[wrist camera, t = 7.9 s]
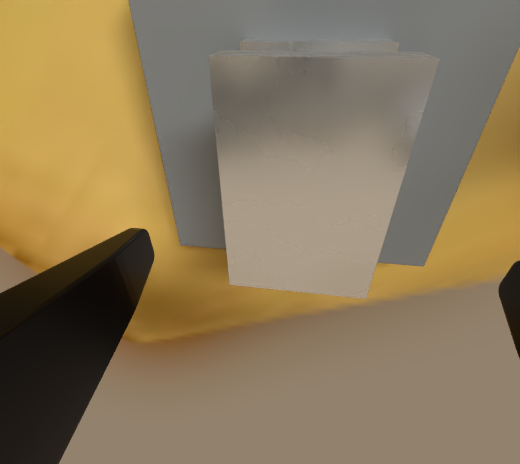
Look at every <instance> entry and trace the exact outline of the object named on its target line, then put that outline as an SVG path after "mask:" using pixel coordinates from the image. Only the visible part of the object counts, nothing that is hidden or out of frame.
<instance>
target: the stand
mask: <svg viewBox="0 0 520 464" xmlns="http://www.w3.org/2000/svg"><path fill="white" fill-rule="evenodd" d="M129 5H130V10H131V14H132V19H133V24H134V28H135V33H136V38H137V43H138V47H139V52H140V57H141V61H142V66H143V71H144V76H145V80H146V85H147V90H148V95H149V99H150V104H151V109H152V113H153V118H154V123H155V128H156V132H157V137H158V142H159V146H160V151H161V156H162V161H163V165H164V170H165V175H166V180H167V184H168V189H169V194H170V198H171V203H172V208H173V213H174V217H175V222H176V227H177V231H178V236H179V241H180V245H186V246H197V247H208V248H220V249H226V241H225V230H224V219H223V209H222V198H221V187H220V176H219V166H218V155H217V144H216V133H215V123H214V112H213V101H212V90H211V80H210V69H209V58H208V56H209V55H212V54H214V53H216V52H218V51H220V50H240V42H241V41H243V40H245V39H388V40H393V41H396V42H398V43H399V46H398V50H397V52H424V53H426V54H429V55H431V56H434V57H436V58H439V59H440V60H439V63H438V67H437V70H436V73H435V76H434V80H433V83H432V86H431V89H430V93H429V96H428V99H427V102H426V106H425V109H424V112H423V115H422V119H421V122H420V125H419V128H418V132H417V135H416V138H415V141H414V145H413V148H412V151H411V154H410V158H409V161H408V164H407V167H406V171H405V174H404V177H403V180H402V184H401V187H400V190H399V193H398V197H397V200H396V203H395V206H394V210H393V213H392V216H391V219H390V223H389V226H388V229H387V232H386V235H385V239H384V242H383V245H382V248H381V252H380V255H379V258H378V261H377V262H378V263H390V264H401V265H412V266H424V265H425V262H426V260H427V258H428V255H429V253H430V251H431V249H432V246H433V244H434V242H435V239H436V237H437V235H438V232H439V230H440V228H441V226H442V223H443V221H444V219H445V216H446V214H447V212H448V209H449V207H450V205H451V202H452V200H453V198H454V196H455V193H456V191H457V189H458V186H459V184H460V182H461V179H462V177H463V175H464V173H465V170H466V168H467V166H468V163H469V161H470V159H471V156H472V154H473V152H474V150H475V147H476V145H477V143H478V140H479V138H480V136H481V133H482V131H483V129H484V127H485V124H486V122H487V120H488V117H489V115H490V113H491V110H492V108H493V106H494V104H495V101H496V99H497V97H498V94H499V92H500V90H501V87H502V85H503V83H504V81H505V78H506V76H507V74H508V71H509V69H510V67H511V64H512V62H513V60H514V58H515V55H516V53H517V51H518V48H519V46H520V0H129Z"/></svg>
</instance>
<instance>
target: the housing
mask: <svg viewBox="0 0 520 464" xmlns="http://www.w3.org/2000/svg"><path fill="white" fill-rule="evenodd" d="M398 46H399V43H398V42H396V41H393V40H388V39H245V40H243V41H241V42H240V50H220V51H218V52H216V53H214V54H212V55H209V56H208V58H209V69H210V80H211V90H212V101H213V112H214V123H215V133H216V144H217V155H218V166H219V176H220V187H221V198H222V209H223V219H224V230H225V241H226V251H227V262H228V273H229V284H230V285H237V286H247V287H257V288H266V289H276V290H286V291H295V292H305V293H315V294H324V295H334V296H344V297H353V298H363V299H366V297H367V294H368V291H369V287H370V284H371V281H372V278H373V274H374V271H375V268H376V265H377V261H378V258H379V255H380V252H381V248H382V245H383V242H384V239H385V235H386V232H387V229H388V226H389V223H390V219H391V216H392V213H393V210H394V206H395V203H396V200H397V197H398V193H399V190H400V187H401V184H402V180H403V177H404V174H405V171H406V167H407V164H408V161H409V158H410V154H411V151H412V148H413V145H414V141H415V138H416V135H417V132H418V128H419V125H420V122H421V119H422V115H423V112H424V109H425V106H426V102H427V99H428V96H429V93H430V89H431V86H432V83H433V80H434V76H435V73H436V70H437V67H438V63H439V60H440V59H439V58H436V57H434V56H431V55H429V54H426V53H424V52H397V50H398Z"/></svg>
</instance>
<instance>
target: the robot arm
mask: <svg viewBox="0 0 520 464" xmlns="http://www.w3.org/2000/svg"><path fill="white" fill-rule="evenodd" d="M153 261H154V250H153V247H152V243H151V240H150V236H149V233H148V232H147V230H145V229H139V228H130V229H128V230H126V231H124V232H122V233H120V234H118V235H116V236H114V237H112V238H110V239H108V240H106V241H104V242H102V243H100V244H98V245H96V246H94V247H92V248H90V249H88V250H86V251H84V252H82V253H80V254H78V255H76V256H74V257H72V258H70V259H68V260H66V261H64V262H62V263H60V264H58V265H56V266H54V267H52V268H50V269H48V270H46V271H44V272H42V273H40V274H38V275H36V276H34V277H32V278H30V279H28V280H26V281H24V282H22V283H20V284H18V285H16V286H14V287H12V288H10V289H8V290H6V291H4V292H2V293H0V464H59V462H60V460H61V458H62V456H63V454H64V452H65V450H66V448H67V446H68V444H69V442H70V440H71V438H72V436H73V434H74V432H75V430H76V428H77V426H78V424H79V422H80V420H81V418H82V416H83V414H84V412H85V410H86V408H87V406H88V404H89V402H90V400H91V398H92V396H93V394H94V392H95V390H96V388H97V386H98V384H99V382H100V380H101V378H102V376H103V374H104V372H105V370H106V367H107V366H108V364H109V362H110V360H111V358H112V356H113V354H114V352H115V350H116V348H117V346H118V344H119V342H120V340H121V338H122V336H123V334H124V332H125V330H126V328H127V326H128V324H129V322H130V320H131V318H132V316H133V314H134V312H135V310H136V307H137V305H138V302H139V299H140V297H141V294H142V291H143V289H144V286H145V283H146V280H147V278H148V275H149V272H150V270H151V267H152V264H153ZM499 297H500V300H501V303H502V306H503V309H504V313H505V315H506V319H507V322H508V325H509V328H510V331H511V335H512V337H513V341H514V344H515V347H516V350H517V353H518V355H519V358H520V261H517V262H515V263H514V264H513V265H512V267H511V268H510V270H509V271H508V273H507V274H506V276H505V277H504V279H503V280H502V282H501V283H500V285H499Z"/></svg>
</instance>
